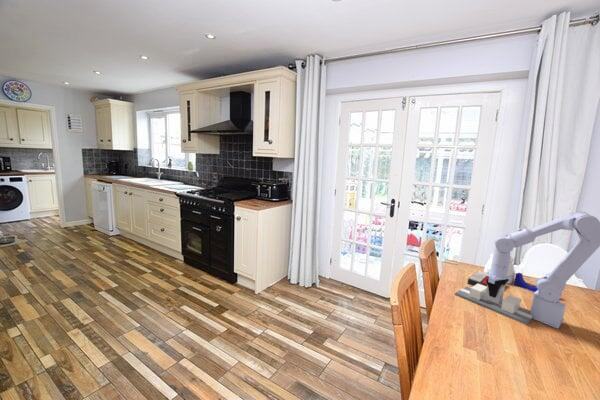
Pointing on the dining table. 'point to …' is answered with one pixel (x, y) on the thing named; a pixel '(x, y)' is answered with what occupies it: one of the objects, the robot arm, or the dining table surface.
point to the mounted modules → (508, 303)
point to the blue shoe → (523, 283)
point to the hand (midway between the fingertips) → (494, 294)
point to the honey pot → (510, 269)
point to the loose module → (498, 297)
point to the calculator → (478, 278)
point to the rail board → (497, 307)
